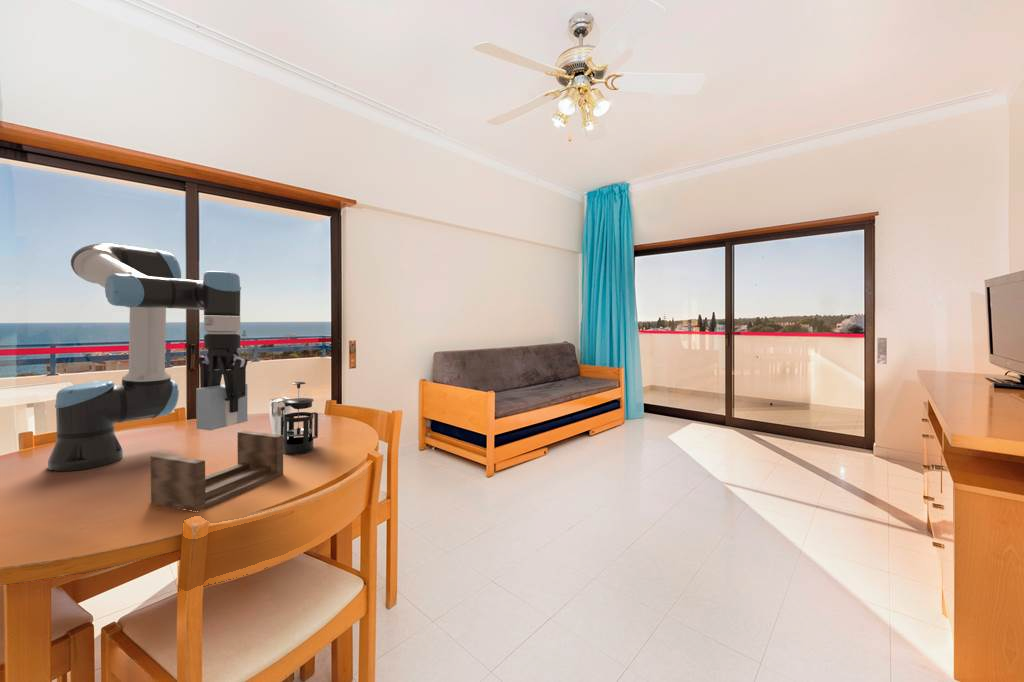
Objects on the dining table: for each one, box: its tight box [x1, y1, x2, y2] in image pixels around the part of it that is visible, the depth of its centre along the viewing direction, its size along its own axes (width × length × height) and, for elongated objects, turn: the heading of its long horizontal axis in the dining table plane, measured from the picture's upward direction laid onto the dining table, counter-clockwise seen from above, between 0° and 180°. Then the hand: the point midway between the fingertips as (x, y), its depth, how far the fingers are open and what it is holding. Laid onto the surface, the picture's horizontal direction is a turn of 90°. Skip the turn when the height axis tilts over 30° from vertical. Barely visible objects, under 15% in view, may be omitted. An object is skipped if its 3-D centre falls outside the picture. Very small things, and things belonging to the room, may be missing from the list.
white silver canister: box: [268, 397, 293, 441], centre depth 144 cm, size 7×7×15 cm
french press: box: [283, 381, 319, 456], centre depth 134 cm, size 12×9×23 cm
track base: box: [150, 430, 284, 513], centre depth 104 cm, size 14×24×11 cm, turn 165°
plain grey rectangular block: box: [195, 383, 248, 431], centre depth 103 cm, size 4×10×10 cm, turn 165°
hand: (223, 423), depth 103 cm, fingers closed on plain grey rectangular block, 4 cm apart
